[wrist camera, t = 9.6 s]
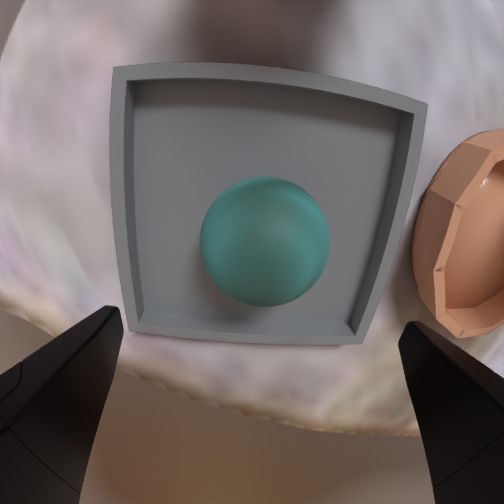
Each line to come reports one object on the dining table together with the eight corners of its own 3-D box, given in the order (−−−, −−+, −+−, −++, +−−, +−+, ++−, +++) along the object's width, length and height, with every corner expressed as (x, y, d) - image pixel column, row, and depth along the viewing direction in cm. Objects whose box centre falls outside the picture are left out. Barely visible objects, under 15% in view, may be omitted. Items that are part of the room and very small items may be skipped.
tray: (409, 103, 14) (427, 104, 12) (354, 326, 21) (362, 344, 19) (127, 70, 13) (113, 67, 11) (137, 312, 20) (129, 331, 18)
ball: (322, 172, 15) (363, 208, 10) (304, 269, 18) (327, 335, 13) (209, 161, 15) (191, 191, 10) (205, 262, 18) (191, 330, 12)
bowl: (551, 162, 15) (576, 173, 12) (501, 308, 22) (519, 328, 19) (439, 101, 14) (473, 104, 11) (384, 313, 21) (401, 343, 18)
